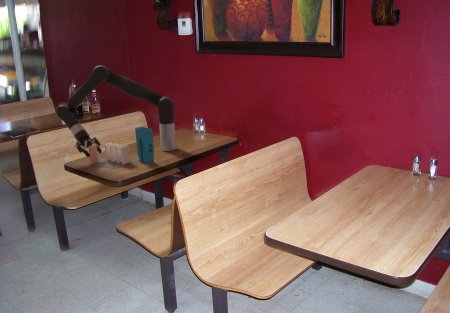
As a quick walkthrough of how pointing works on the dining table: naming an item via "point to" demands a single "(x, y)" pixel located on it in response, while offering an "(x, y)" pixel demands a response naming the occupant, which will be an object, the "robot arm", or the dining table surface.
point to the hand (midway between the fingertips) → (95, 154)
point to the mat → (108, 163)
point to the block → (145, 144)
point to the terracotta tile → (93, 153)
